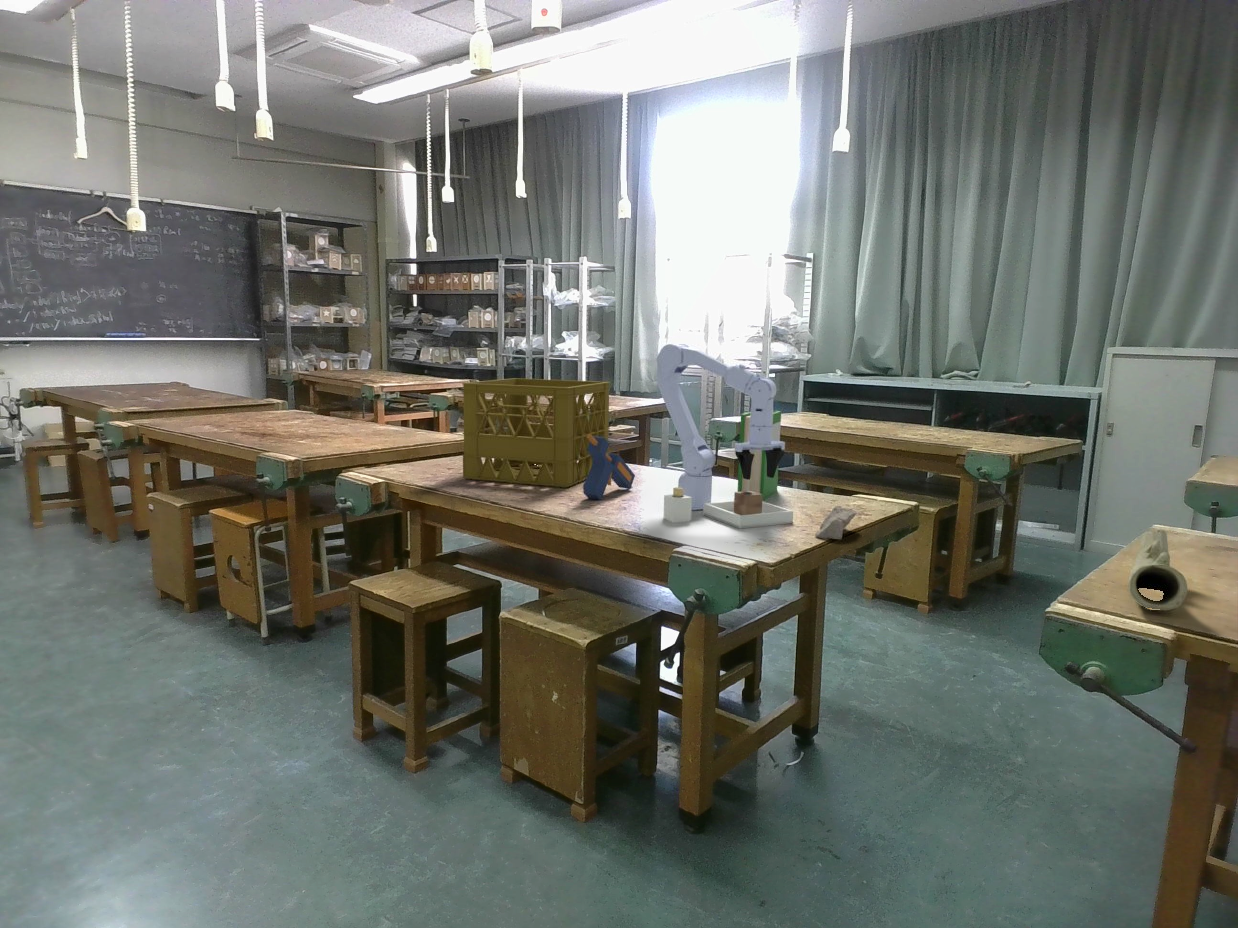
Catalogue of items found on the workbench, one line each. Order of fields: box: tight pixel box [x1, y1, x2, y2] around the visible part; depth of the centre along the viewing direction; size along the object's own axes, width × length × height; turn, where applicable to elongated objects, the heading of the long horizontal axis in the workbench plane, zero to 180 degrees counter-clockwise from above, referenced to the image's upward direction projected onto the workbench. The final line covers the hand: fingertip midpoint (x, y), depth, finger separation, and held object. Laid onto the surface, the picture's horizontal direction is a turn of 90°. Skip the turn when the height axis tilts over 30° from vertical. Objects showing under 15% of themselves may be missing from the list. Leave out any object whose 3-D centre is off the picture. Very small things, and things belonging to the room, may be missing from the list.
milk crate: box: [461, 377, 612, 489], centre depth 254 cm, size 35×36×30 cm
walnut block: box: [733, 491, 763, 515], centre depth 199 cm, size 5×5×6 cm
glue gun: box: [582, 433, 636, 501], centre depth 224 cm, size 6×31×15 cm
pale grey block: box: [663, 486, 692, 524], centre depth 197 cm, size 5×5×8 cm
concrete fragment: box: [814, 505, 858, 540], centre depth 186 cm, size 7×14×6 cm, turn 144°
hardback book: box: [737, 410, 782, 502], centre depth 230 cm, size 18×7×24 cm, turn 156°
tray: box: [702, 500, 794, 530], centre depth 200 cm, size 16×16×3 cm
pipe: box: [1127, 529, 1188, 611], centre depth 145 cm, size 28×8×10 cm, turn 153°
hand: (758, 478), depth 204 cm, fingers open, 7 cm apart
